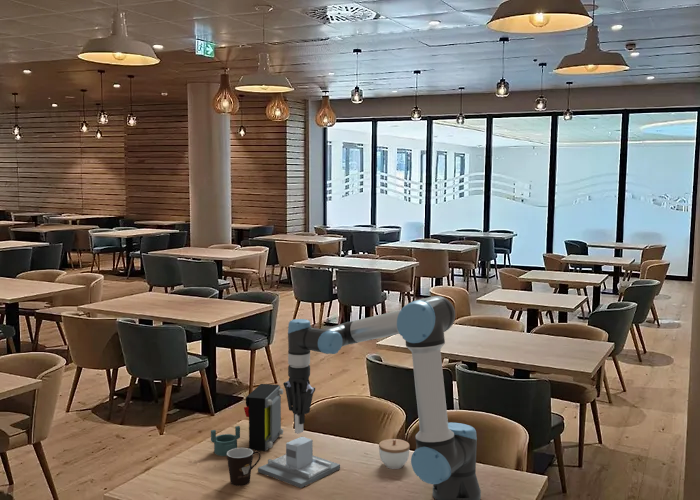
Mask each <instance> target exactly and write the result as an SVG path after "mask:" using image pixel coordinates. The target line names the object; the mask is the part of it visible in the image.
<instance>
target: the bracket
mask: <svg viewBox="0 0 700 500" xmlns="http://www.w3.org/2000/svg"><path fill="white" fill-rule="evenodd" d="M234 428H235V434H231V433H225V434H220V435H219V434H218V435H217V431H216V429H210V442H211V443H213V449H214V451H213V452H214V454H215V455H217V456H218V457H227V452H228V451H229V450H231V449H235V448H238V439H240V438H241V427H240V425H237V426H235V427H234Z"/></svg>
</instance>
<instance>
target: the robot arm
mask: <svg viewBox="0 0 700 500" xmlns="http://www.w3.org/2000/svg"><path fill="white" fill-rule="evenodd" d="M455 320H456V310H455V307H454V305H453V304H452V302H451V301H450V300H449V299H448V298H446V297H444V296H440V295H432V296H429V297H428V296H427V297H426V298H421V299H420V298H419V299H417V300H413V301H410V302H409V303H407V304H405V305H404V306H403V307H402V308H401V309H399V310H394V311H391V312H386V313H383V314H378V315H374V316H369V317H365V318H360V319H357V320H356V319H355V320H353V321H346V322H345V321H344V322H343V323H340V324H336V325H333V326H329V327H326V328H315V327H312V326H311V321H310V320H308V319H304V318H295V319H294V318H293V319H291V320H289V322H288V327H287V328H288V329H287V340H288V342H287V345H288V346H287V347H288V352H287V353H288V354H287V364H288V366H287V375H288V377H289V378H288V380H287V381H285V382H283V384H282V385H283V387H284V389H285V394H286V400H287V407H288V410H289V411H291V412H292V413H293V422H294V433H295V434H298V435H299V434H301V433H303V432H304V424H305V421H306V420H305V419H306V415H307V414H309V413H310V411H311V407H312V402H313V401H312V400H313V396H314V393H315V392H316V387H314V386H313V387H312V386H311V381H310V377H311V365H310V364H311V351H314V352H318V353H322V354H325V355H328V354H329V355H336V354H338V353H339V351H340V350H342V347H345V346H349V345H353V344H357V343H361V342H366V341H367V342H368V341H372V340H375V339H376V340H377V339H382V338H386V337H390V336H396V335H400V336H401V337H402V339H403V340H405V347H406V348H407V349H408V350H409V351H410V353H411V357H412V358H411V359H412V366H413V367H412V368H413V376H414V387H415V396H416V397H415V398H416V404H417V405H416V406H417V415H418V416H417V417H418V424H419V425H418V426H419V431H418V432H417V433H416V434H415V444H416V448H415V450H414V451H413V453H412V455H411V458H410V465H411V468H412V471H413V472H414V474H415V475H416V477H418V478H419V479H420V480H421V481H422V482H424V483H426V484H429V485H433V486H432V497H433V498H434V499H435V500H481V498H482V497H481V496H482V492H481V491H482V490H481V488H480V485H479V480H478V477H477V474H476V470H477V443H478V442H477V440H478V438H477V431H476V429H475V427H473V426H472V425H469V424H465V423H460V422H449V420H448V411H447V410H448V409H447V403H446V400H447V399H446V390H445V383H444V381H445V380H444V372H443V361H442V352H441V350H442V347H443V346H444V345H446V341H445V340H446V339H445V332H447V331H449V330H450V328H452V326H453V325H454V323H455Z"/></svg>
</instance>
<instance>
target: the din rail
mask: <svg viewBox="0 0 700 500" xmlns="http://www.w3.org/2000/svg"><path fill="white" fill-rule="evenodd" d="M267 464H269V465H271V466H274V467H277V468H280V469H282V470H285V471H288V472H291V473H293V474H296V475H299V476H302V477H304V478H307V479H310V478H312V477H314V476H316V475H318V474H320V473H322V472H324V471H326V470H328V469H330V468H331V463H328V462H325V461H322V460H319V459H316V458H313V462H312V463H310V464H308V465H305V466H303V467H301V468H299V469H297V468H294V467H291V466H289V465H286V453H285V454H283V455H281V456H279V457H277V458H273V459H272V458H269V459H267Z"/></svg>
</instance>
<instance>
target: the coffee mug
mask: <svg viewBox="0 0 700 500" xmlns="http://www.w3.org/2000/svg"><path fill="white" fill-rule="evenodd" d="M255 454H257V455H258V458H257V461H256V462H254V464H253V457H254V455H255ZM261 458H262V455H261V453H260V451H256V450H255V451H254V450H251V449H249V447H248V448H247V447H237V448H235V449H231V450H229V451H228V452H227V456H226V459H227V464H228V465H227V466H228V473H229V474H228V475H229V480H230V484H231V485H232V486H235V487H243V486H247V485H249V484H250V483H251V475H252V470H253V469H254V468H255V467H256V466H257V464H258V463H259V462H260V460H261Z"/></svg>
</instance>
